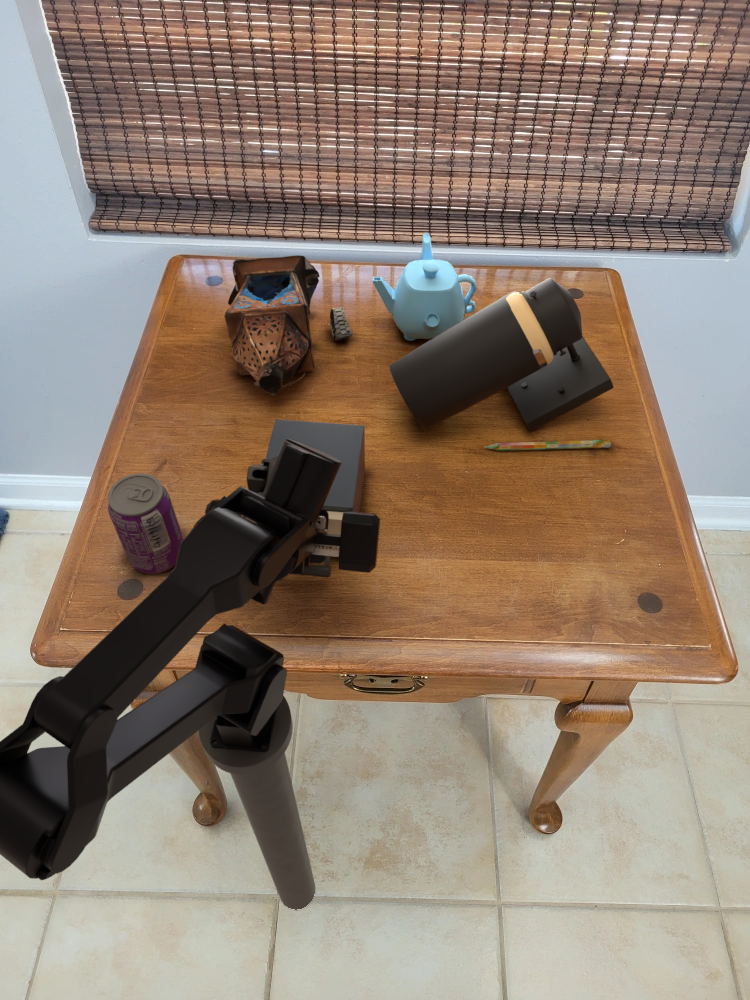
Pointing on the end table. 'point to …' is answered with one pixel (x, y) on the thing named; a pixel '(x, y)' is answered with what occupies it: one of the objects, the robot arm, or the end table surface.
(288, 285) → the lantern
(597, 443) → the pencil
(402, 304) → the teapot
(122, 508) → the beverage can
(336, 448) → the cabinet
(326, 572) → the drawer
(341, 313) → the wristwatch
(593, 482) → the end table surface
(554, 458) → the end table surface
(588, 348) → the light fixture
